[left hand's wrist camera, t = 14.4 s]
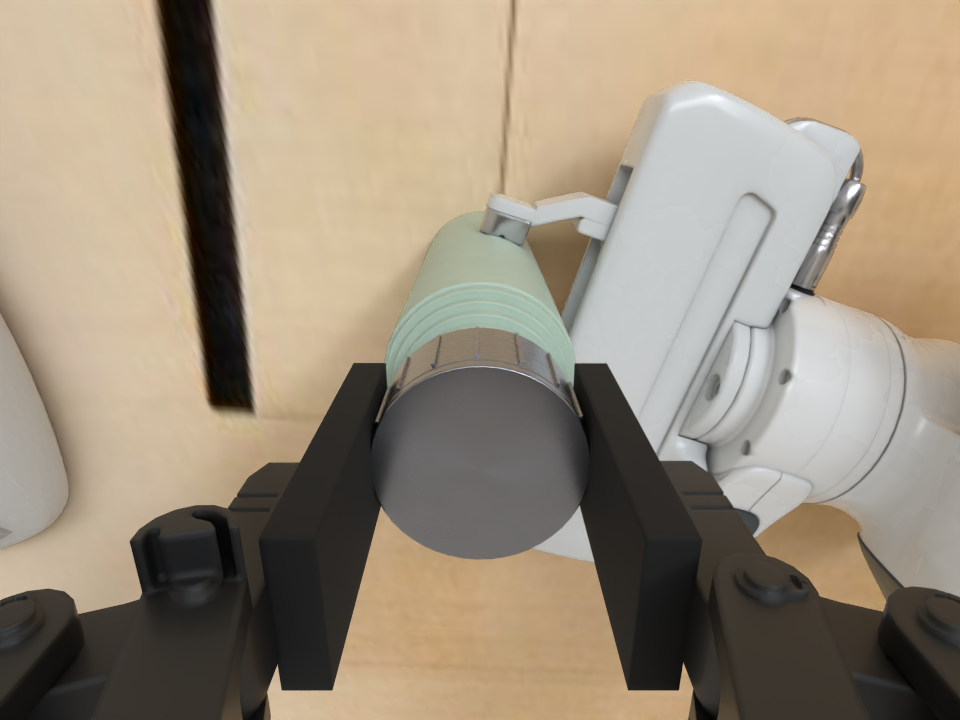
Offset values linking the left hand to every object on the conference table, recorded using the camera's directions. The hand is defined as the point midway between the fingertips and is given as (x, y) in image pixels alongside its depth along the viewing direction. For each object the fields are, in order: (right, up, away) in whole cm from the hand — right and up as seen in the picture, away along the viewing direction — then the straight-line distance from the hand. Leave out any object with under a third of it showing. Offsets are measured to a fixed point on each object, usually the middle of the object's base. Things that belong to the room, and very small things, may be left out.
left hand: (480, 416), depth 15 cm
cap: (0, -1, -2) cm, 2 cm away
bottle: (0, +6, +16) cm, 17 cm away
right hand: (-1, +4, +10) cm, 11 cm away
